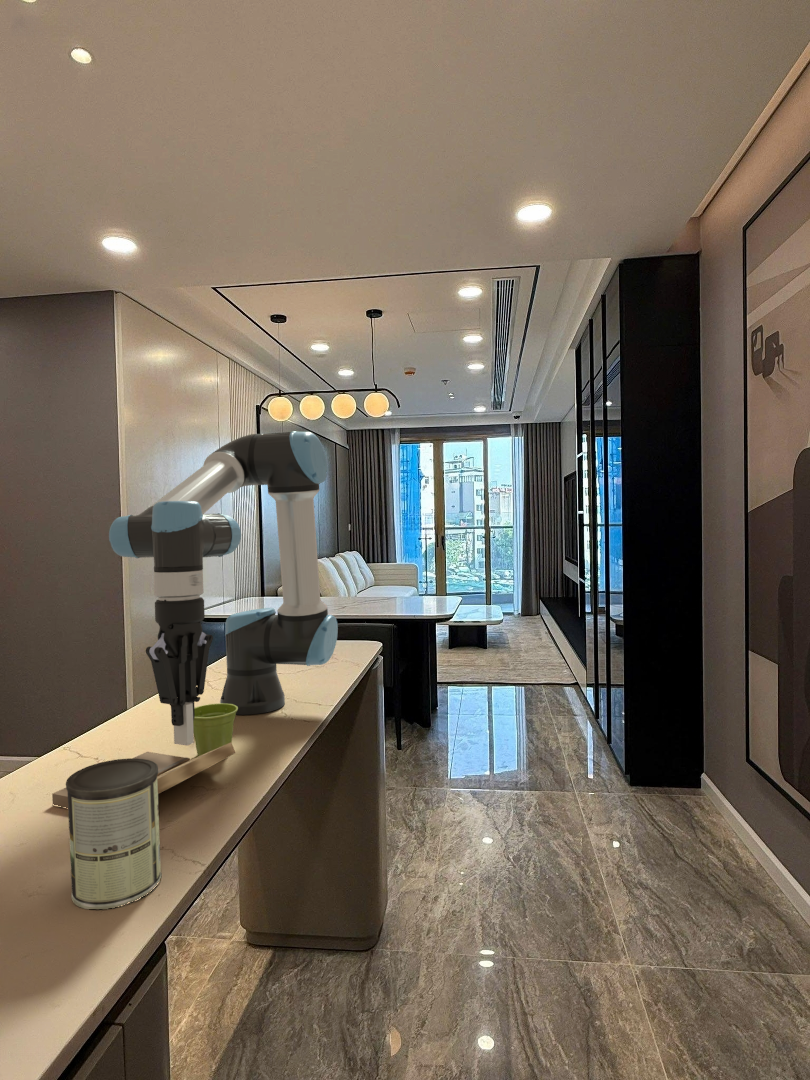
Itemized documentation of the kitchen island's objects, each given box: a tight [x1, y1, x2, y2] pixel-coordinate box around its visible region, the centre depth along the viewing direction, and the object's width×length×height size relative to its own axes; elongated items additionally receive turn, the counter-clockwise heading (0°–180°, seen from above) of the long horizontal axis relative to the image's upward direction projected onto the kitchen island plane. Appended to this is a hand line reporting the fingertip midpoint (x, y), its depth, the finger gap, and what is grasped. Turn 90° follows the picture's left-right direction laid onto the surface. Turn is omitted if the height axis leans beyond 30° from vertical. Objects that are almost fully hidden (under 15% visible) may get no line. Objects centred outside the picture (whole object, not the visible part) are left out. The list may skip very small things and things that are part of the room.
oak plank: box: [157, 741, 237, 795], centre depth 107 cm, size 20×10×2 cm, turn 157°
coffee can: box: [65, 757, 162, 910], centre depth 81 cm, size 10×10×14 cm
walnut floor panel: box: [51, 751, 191, 808], centre depth 112 cm, size 20×10×2 cm, turn 157°
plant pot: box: [193, 702, 238, 757], centre depth 126 cm, size 9×9×9 cm
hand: (184, 743), depth 106 cm, fingers closed
